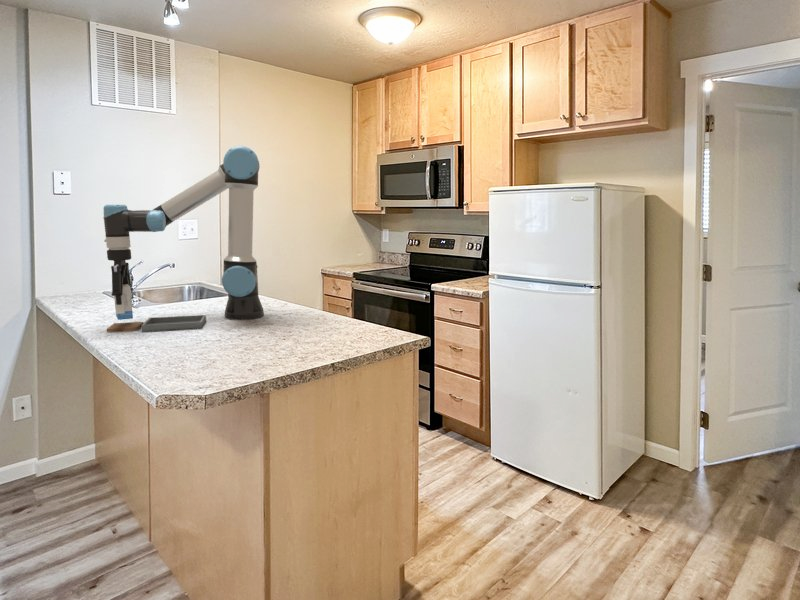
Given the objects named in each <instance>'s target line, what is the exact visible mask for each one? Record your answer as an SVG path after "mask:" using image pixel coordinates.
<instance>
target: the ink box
mask: <svg viewBox="0 0 800 600" xmlns="http://www.w3.org/2000/svg"><path fill="white" fill-rule="evenodd" d="M122 293H123V294H122V295H123V296H124V307H125V314H116V313H115V317H116V318H117V320H118V321H123V320H130V319H134V314H133V303H132V302H133V301H132V291H131V287H130V286H129V285H128V284H123V291H122ZM113 298H114V299H115V297H114V296H113ZM114 308H115V307H114ZM115 311H116V308H115Z"/></svg>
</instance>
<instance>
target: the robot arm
mask: <svg viewBox="0 0 800 600" xmlns="http://www.w3.org/2000/svg"><path fill="white" fill-rule="evenodd" d="M259 171H260V161H259V159H258V156H257V154H256V153H255V151H254V150H253V149H252V148H250V147H247V146H243V145H237V146H233V147H231V148H229V149H228V150H227V151H226V152H225V154H224V157H223V163H222V164H220V165H219V166H218V169H217V170H216V171H214V172H213V173H211V174H210V175H208V176H206V177H204V178H203V179H201V180H199V181H198V182H196V183H194V184H193V185H190V186H189V187H188V188H186V189H184V190H183V191H181V192H180V193H178V194H176V195H174V196H173V197H171V198H170V199H168V200H166V201H164V202H163V203H161V204H160V205H158V206H156V207H155V208H153V209H151V210H149V209H148V210H147V209H145V210H144V209H142V210H141V209H140V210H131V209H130V210H129V209H128V206H127V205H126V204H106V205H104V206H103V222H104V223H103V224H104V231H105V239H104V240H103V241H104V243H106V249H107V250H106V255H107V256H106V258H107V260H108V261H112V262H113V265H111V266H110V268H111V287H112V288H111V291H112V292H111V296H112V297H113V298H114V297H115V298H114V306H115V307H114V308H116V310H115V315H116V314H125V307H124V296H123V295H122V294H123V293H122V291H123V284H128V285H129V286H130V287H131V292H132V291H133V289H134V288H133V287H132V286H133V285H132V281H131V274H130V265H129V262H126V261H130V260H132V250H131V249H130V248H131V247H132V246H131V238H130V237H131V236H130V232H131V233H132V232H133V233H135V232H138V233H140V232H143V233H145V232H148V233H157V232H164V231H165V230H166V227H167V226H169V225H171V224H172V223H174V222H175V221H177V220H179V219H180V218H181V217H183V216H185V215H187V214H188V213H191V211H193V210H195V209H197V208H198V207H200V206H201V205H203V204H205V203H207V202H208V201H210V200H212V199H213V198H215V197H216V196H218V195H219V194H221V193H223V192H225V191H227V190H228V229H227V230H228V233H227V234H228V235H227V237H228V238H227V240H228V241H227V242H228V243H227V245H228V246H227V256H225V258H223V273H222V277H221V285H222V287H223V289H224V291H225V292H226V293H227V295H228V296H227V297H228V298H227V302H226V305H225V309H224V318H225V319H227V320H234V321H235V320H236V321H237V320H238V321H239V320H242V321H243V320H252V319H258V318H262V317H263V316H264V312H265V311H264V307H263V304H262V303H261V299H260V297H259V296H260V295H259V282H258V264H257V259H256V258H255V257H253V231H254V230H253V229H254V191H255V190H256V189H257V188H258V187H259Z"/></svg>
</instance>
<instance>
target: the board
mask: <svg viewBox="0 0 800 600" xmlns="http://www.w3.org/2000/svg"><path fill="white" fill-rule="evenodd" d="M144 322H145V321H135V322H134V321H131V322H114V323H113V324H111V325H110V326H108V327H107V328H106V333H116V332H117V333H118V332H119V333H120V332H136V331H139V330H140V329H141V325H142V324H143V323H144Z"/></svg>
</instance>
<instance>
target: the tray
mask: <svg viewBox="0 0 800 600" xmlns="http://www.w3.org/2000/svg"><path fill="white" fill-rule="evenodd" d="M143 322H144V323H143V324H142V325H141V328H140V329H141V333H150V332H151V333H153V332H154V333H155V332H171V331H172V332H173V331H174V332H175V331H190V330H191V331H192V330H203V328H204V326H205V324H206V323H207V315H206V314H200V315H199V314H198V315H183V316H181V315H178V316H158V317H156V316H155V317H148V319H146V320H145V321H143Z"/></svg>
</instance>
